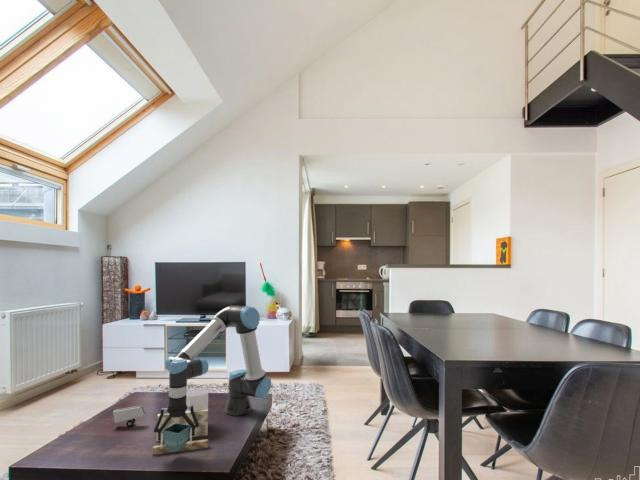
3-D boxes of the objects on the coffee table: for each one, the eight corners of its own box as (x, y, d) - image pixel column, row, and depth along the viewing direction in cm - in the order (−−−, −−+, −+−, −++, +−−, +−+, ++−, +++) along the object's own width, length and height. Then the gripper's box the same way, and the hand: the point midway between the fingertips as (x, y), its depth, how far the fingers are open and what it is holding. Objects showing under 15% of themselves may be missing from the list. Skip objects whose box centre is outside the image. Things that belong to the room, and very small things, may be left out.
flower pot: (191, 445, 172) (191, 425, 173) (178, 454, 164) (178, 433, 164) (175, 442, 175) (175, 422, 176) (161, 451, 167) (162, 430, 167)
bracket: (115, 430, 199) (145, 423, 201) (112, 412, 199) (141, 404, 202) (118, 427, 203) (147, 420, 205) (115, 409, 203) (144, 402, 206)
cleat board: (207, 433, 193) (208, 409, 194) (208, 447, 178) (208, 421, 179) (156, 439, 186) (157, 414, 187) (152, 454, 171) (153, 427, 172)
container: (173, 427, 201) (175, 392, 202) (198, 419, 212) (199, 386, 213) (187, 435, 192) (189, 398, 193) (212, 426, 202) (213, 392, 203)
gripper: (205, 390, 178) (204, 438, 177) (150, 395, 171) (148, 445, 170) (205, 395, 171) (204, 445, 170) (147, 401, 164) (146, 453, 162)
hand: (176, 445), depth 170 cm, fingers closed on flower pot, 11 cm apart
